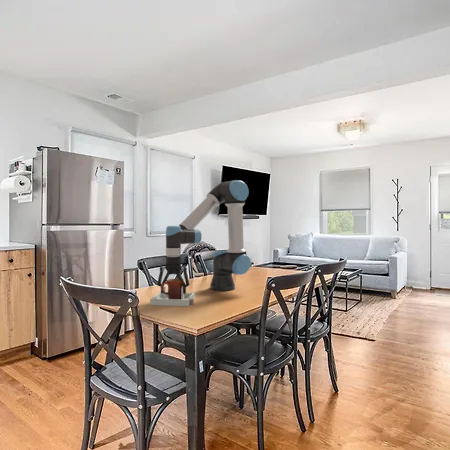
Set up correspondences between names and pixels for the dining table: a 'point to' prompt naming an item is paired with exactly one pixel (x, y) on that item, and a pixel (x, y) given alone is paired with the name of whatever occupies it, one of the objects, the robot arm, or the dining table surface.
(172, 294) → the mug
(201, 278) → the dining table surface
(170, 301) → the grey-green tray
